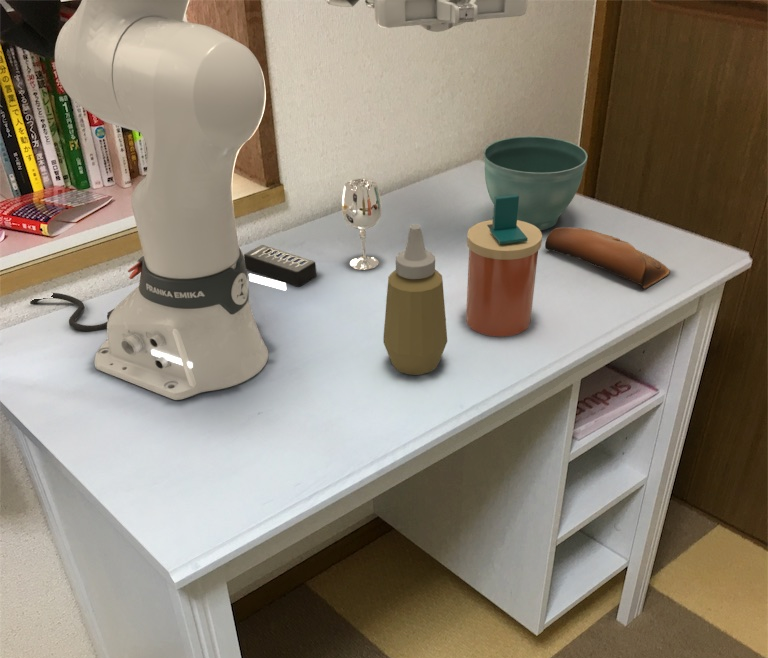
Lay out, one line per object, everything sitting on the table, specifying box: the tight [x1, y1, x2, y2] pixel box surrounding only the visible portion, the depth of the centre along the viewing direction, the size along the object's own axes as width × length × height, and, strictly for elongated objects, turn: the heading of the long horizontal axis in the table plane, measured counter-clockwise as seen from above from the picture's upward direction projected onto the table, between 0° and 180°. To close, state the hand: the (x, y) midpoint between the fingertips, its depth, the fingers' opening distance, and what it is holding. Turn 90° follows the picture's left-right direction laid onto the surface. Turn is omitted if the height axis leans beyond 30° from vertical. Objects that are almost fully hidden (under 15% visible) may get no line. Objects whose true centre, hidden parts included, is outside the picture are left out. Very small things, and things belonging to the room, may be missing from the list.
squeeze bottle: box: [383, 224, 448, 376], centre depth 98 cm, size 8×8×18 cm
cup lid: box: [466, 219, 543, 260], centre depth 104 cm, size 9×9×1 cm
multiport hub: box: [243, 244, 318, 288], centre depth 123 cm, size 4×11×2 cm, turn 54°
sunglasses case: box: [544, 226, 671, 290], centre depth 122 cm, size 18×7×7 cm
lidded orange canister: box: [465, 247, 539, 338], centre depth 108 cm, size 9×9×11 cm
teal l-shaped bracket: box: [490, 194, 528, 244], centre depth 101 cm, size 4×4×4 cm
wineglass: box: [341, 178, 382, 271], centre depth 121 cm, size 6×6×12 cm
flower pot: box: [482, 135, 588, 231], centre depth 131 cm, size 16×16×11 cm
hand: (466, 15), depth 101 cm, fingers closed
